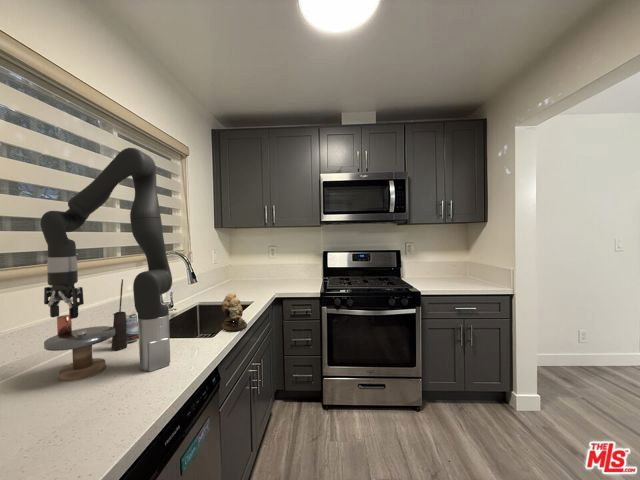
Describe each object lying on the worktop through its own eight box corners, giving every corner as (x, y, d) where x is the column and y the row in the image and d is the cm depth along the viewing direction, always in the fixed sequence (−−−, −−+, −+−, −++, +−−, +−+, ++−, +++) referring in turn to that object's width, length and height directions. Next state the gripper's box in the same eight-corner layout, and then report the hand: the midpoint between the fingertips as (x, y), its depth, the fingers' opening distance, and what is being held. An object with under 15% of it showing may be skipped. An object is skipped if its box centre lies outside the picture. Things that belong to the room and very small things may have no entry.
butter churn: (112, 356, 105) (109, 282, 104) (97, 352, 109) (94, 281, 108) (136, 346, 113) (134, 278, 113) (121, 343, 117) (119, 278, 117)
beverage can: (131, 344, 116) (130, 316, 116) (116, 343, 118) (115, 315, 117) (143, 339, 122) (142, 312, 122) (129, 338, 124) (128, 311, 124)
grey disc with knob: (128, 331, 99) (127, 311, 99) (73, 352, 82) (72, 327, 82) (88, 328, 103) (87, 309, 103) (27, 348, 86) (27, 324, 86)
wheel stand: (109, 371, 93) (107, 339, 93) (60, 385, 84) (58, 351, 84) (102, 360, 101) (101, 331, 101) (57, 372, 92) (56, 341, 92)
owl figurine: (251, 330, 131) (250, 294, 131) (225, 334, 125) (224, 297, 125) (242, 320, 147) (241, 288, 146) (219, 324, 141) (218, 290, 141)
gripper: (90, 269, 96) (91, 315, 96) (59, 268, 99) (61, 313, 100) (66, 272, 89) (67, 322, 89) (33, 271, 92) (35, 319, 92)
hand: (64, 317), depth 94 cm, fingers open, 8 cm apart
